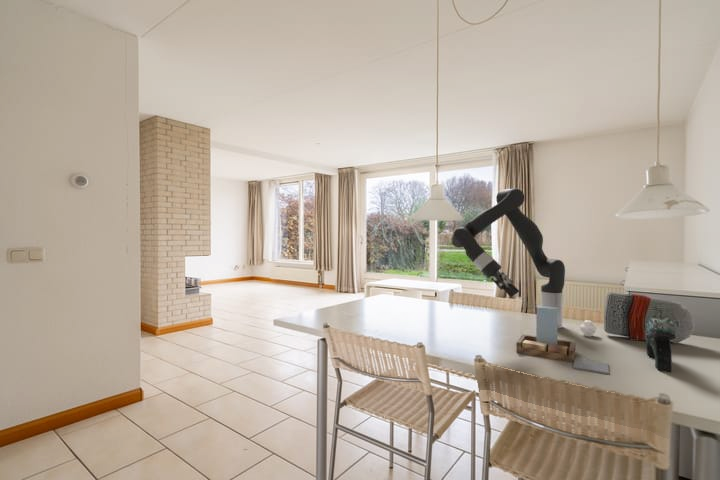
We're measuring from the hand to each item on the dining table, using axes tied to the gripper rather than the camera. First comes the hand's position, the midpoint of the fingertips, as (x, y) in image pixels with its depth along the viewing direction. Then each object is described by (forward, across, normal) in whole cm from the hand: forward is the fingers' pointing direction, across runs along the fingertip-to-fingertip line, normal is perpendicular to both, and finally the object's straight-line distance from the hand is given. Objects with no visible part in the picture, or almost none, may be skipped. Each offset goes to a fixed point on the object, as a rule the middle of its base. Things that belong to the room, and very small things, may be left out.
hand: (515, 294), depth 146 cm
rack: (+23, -3, +7) cm, 24 cm away
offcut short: (+26, -6, +4) cm, 27 cm away
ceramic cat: (+47, +6, -18) cm, 51 cm away
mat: (+34, -10, -4) cm, 35 cm away
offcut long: (+21, -6, +9) cm, 24 cm away
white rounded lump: (+32, +33, -3) cm, 46 cm away
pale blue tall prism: (+23, 0, +7) cm, 24 cm away
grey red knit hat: (+47, +38, -18) cm, 63 cm away
